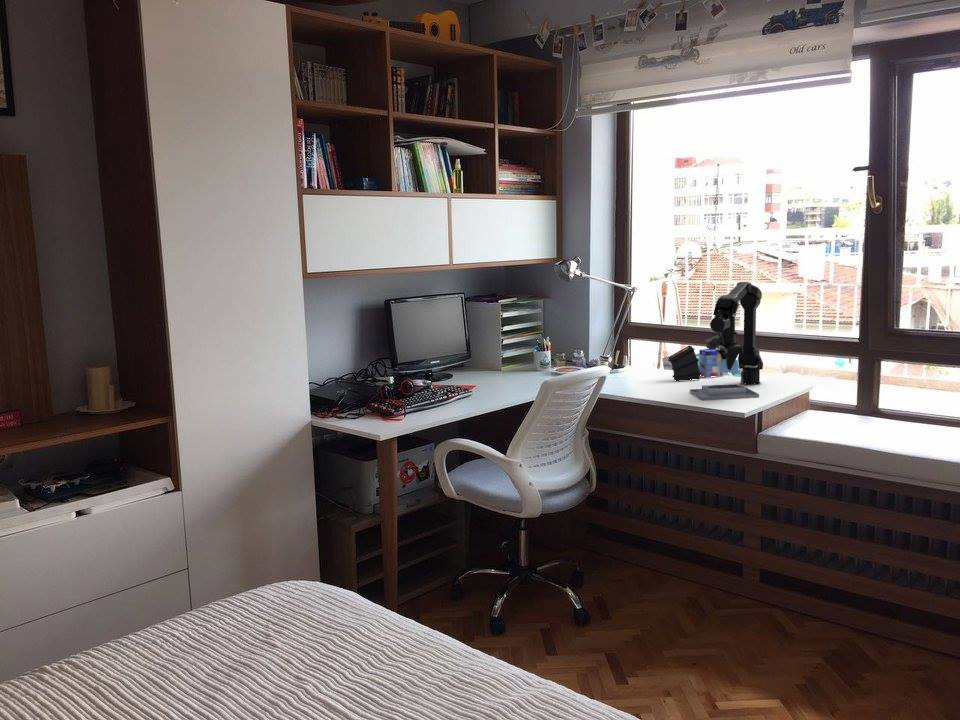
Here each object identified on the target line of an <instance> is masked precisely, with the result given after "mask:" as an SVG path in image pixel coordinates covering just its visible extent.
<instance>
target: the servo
mask: <svg viewBox="0 0 960 720" xmlns="http://www.w3.org/2000/svg"><path fill="white" fill-rule="evenodd" d="M738 371H739V364H738V359H736V360H735V362H734V364H733V366H732V368H731V370H728V368H727V361H726V359H721V360H717V366H716V367H713V372H714V373H715V372H720V373H737V372H738Z"/></svg>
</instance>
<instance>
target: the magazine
mask: <svg viewBox="0 0 960 720" xmlns="http://www.w3.org/2000/svg"><path fill="white" fill-rule="evenodd" d="M667 358H668V362H669V363H670V364H671V370H673V375H672V378H673V381H674V380H676V381H679V380H690V379H691V380H692V379H701V377H700V374H701V372H700V371H699V358H697V355H696V352H695V348H694V347H693V346H692V345H687V346H686V347H684V348H682V349H681V350H678V351H676V352H675V353H673V354H671V355H670V356H668V357H667ZM676 381H675V382H676ZM679 382H680V381H679Z"/></svg>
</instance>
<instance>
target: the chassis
mask: <svg viewBox="0 0 960 720" xmlns="http://www.w3.org/2000/svg"><path fill="white" fill-rule="evenodd" d="M690 392H691V393H690ZM689 393H690V394H691V395H693V394H694V395H693V396H695V395H696V396H697V397H696V396H695V397H696V398H698V399H700V400H701V401H710V400H711V401H712V400H713V401H714V400H715V401H716V400H731V399H732V400H733V399H747V398H748V399H749V397H753V398H760V393H759V392H758V393H757V392H755V391H753V390H751V389H749V388H747V387H745V386H744V385H741V384H740V383H728V384H727V383H726V384H710V385H701V388H695V389H694V388H692V389H689Z"/></svg>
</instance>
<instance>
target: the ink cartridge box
mask: <svg viewBox="0 0 960 720" xmlns="http://www.w3.org/2000/svg"><path fill="white" fill-rule="evenodd" d="M716 350H718V347H716V348H713V349H709V348H701V349H699V350H698V351H699V355H698V357H699V358H698V360H699V361H698V365H699V371H700V372H701V374H700V375H701V376H704V377H711V376H721V377H724V373H725V372H724V373H720V372H715V373H714V372H713V367H716V366H717V360H721V356H720V354H719V353H718V352H717V351H716Z"/></svg>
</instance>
